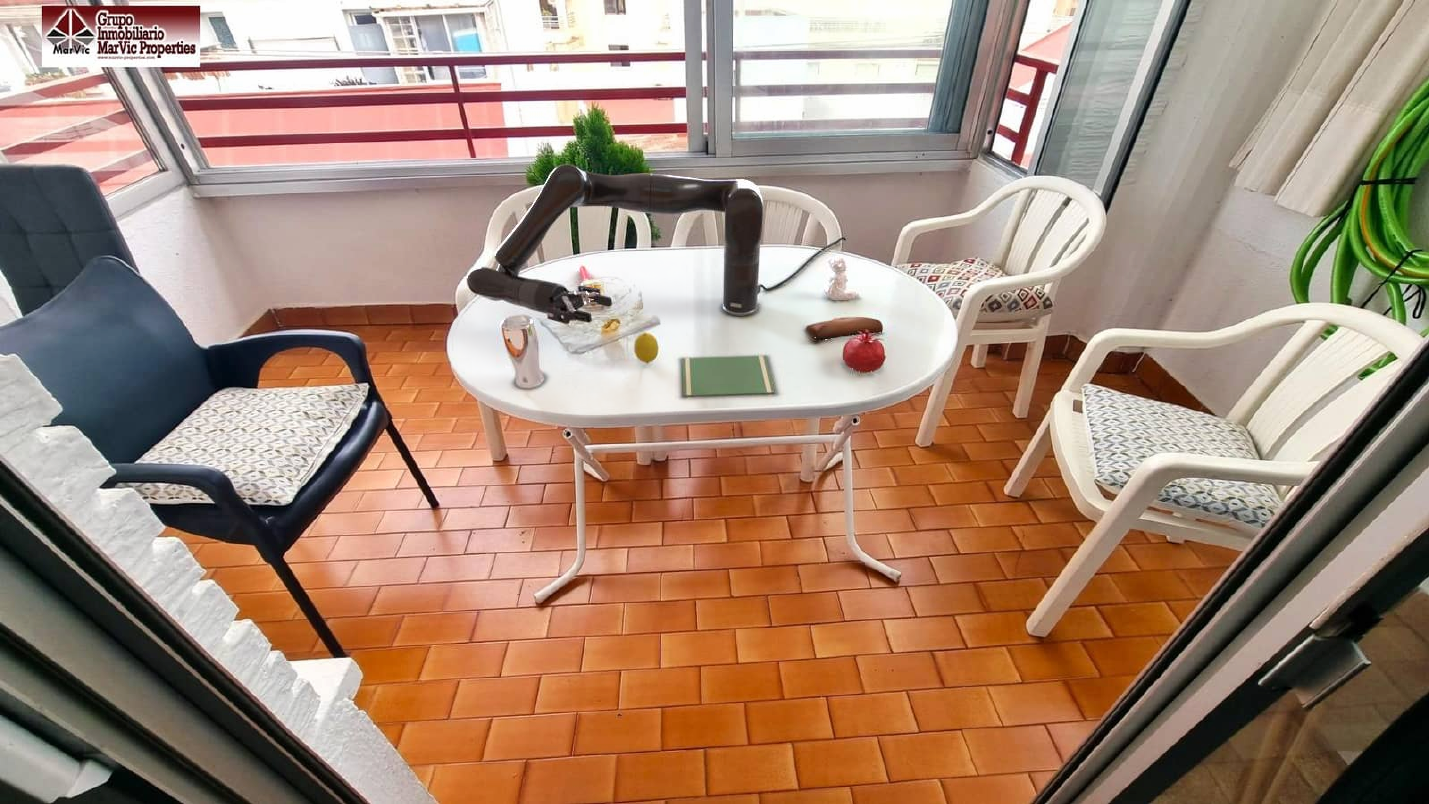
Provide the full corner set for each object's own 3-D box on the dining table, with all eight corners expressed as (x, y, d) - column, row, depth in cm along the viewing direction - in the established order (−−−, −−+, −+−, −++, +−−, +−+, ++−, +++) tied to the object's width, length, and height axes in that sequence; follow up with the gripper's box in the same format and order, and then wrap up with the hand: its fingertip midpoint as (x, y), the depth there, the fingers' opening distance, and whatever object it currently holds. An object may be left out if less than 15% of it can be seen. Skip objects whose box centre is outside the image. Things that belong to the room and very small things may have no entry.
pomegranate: (856, 382, 130) (863, 346, 124) (832, 360, 137) (837, 325, 132) (892, 372, 133) (900, 337, 128) (867, 351, 140) (873, 317, 135)
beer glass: (517, 372, 132) (503, 314, 123) (548, 371, 133) (536, 313, 124) (511, 390, 127) (496, 330, 118) (543, 388, 127) (530, 329, 118)
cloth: (682, 359, 137) (682, 358, 137) (765, 357, 138) (765, 355, 138) (683, 396, 125) (683, 395, 125) (774, 393, 126) (774, 392, 126)
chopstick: (585, 309, 159) (601, 302, 159) (582, 303, 158) (598, 296, 158) (575, 274, 177) (589, 268, 178) (572, 268, 176) (586, 262, 176)
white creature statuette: (859, 298, 163) (866, 258, 156) (837, 306, 159) (843, 265, 152) (836, 286, 169) (842, 247, 162) (814, 294, 165) (819, 254, 158)
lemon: (655, 370, 133) (653, 340, 129) (632, 367, 134) (629, 337, 130) (662, 357, 138) (660, 328, 133) (639, 355, 139) (637, 326, 134)
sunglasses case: (867, 318, 153) (877, 304, 147) (875, 341, 150) (885, 328, 144) (803, 326, 149) (811, 312, 143) (811, 350, 147) (818, 337, 141)
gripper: (521, 294, 130) (581, 308, 125) (558, 270, 141) (615, 282, 136) (527, 323, 135) (585, 338, 130) (563, 298, 145) (618, 311, 140)
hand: (601, 309), depth 133 cm, fingers open, 8 cm apart
